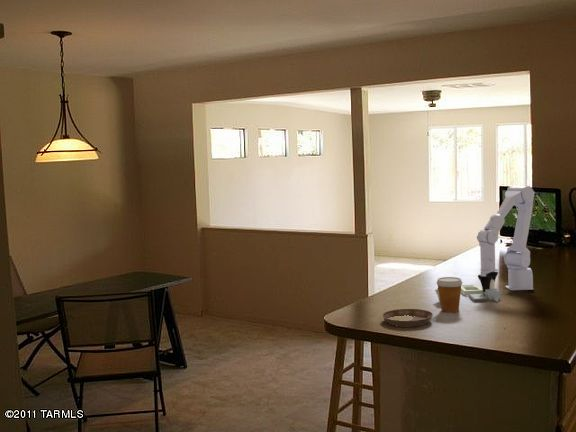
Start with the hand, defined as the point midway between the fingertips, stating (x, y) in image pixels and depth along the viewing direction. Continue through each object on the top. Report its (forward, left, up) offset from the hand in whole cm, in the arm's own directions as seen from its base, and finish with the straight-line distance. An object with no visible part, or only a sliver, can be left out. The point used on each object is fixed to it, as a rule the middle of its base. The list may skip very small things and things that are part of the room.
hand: (488, 290), depth 251 cm
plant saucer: (+39, +40, -2) cm, 56 cm away
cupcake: (+19, +12, -2) cm, 23 cm away
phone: (+6, +9, -1) cm, 12 cm away
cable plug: (+1, +11, -1) cm, 11 cm away
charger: (0, 0, -2) cm, 2 cm away
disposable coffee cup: (+21, +26, -2) cm, 34 cm away
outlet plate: (+6, -4, -1) cm, 8 cm away
